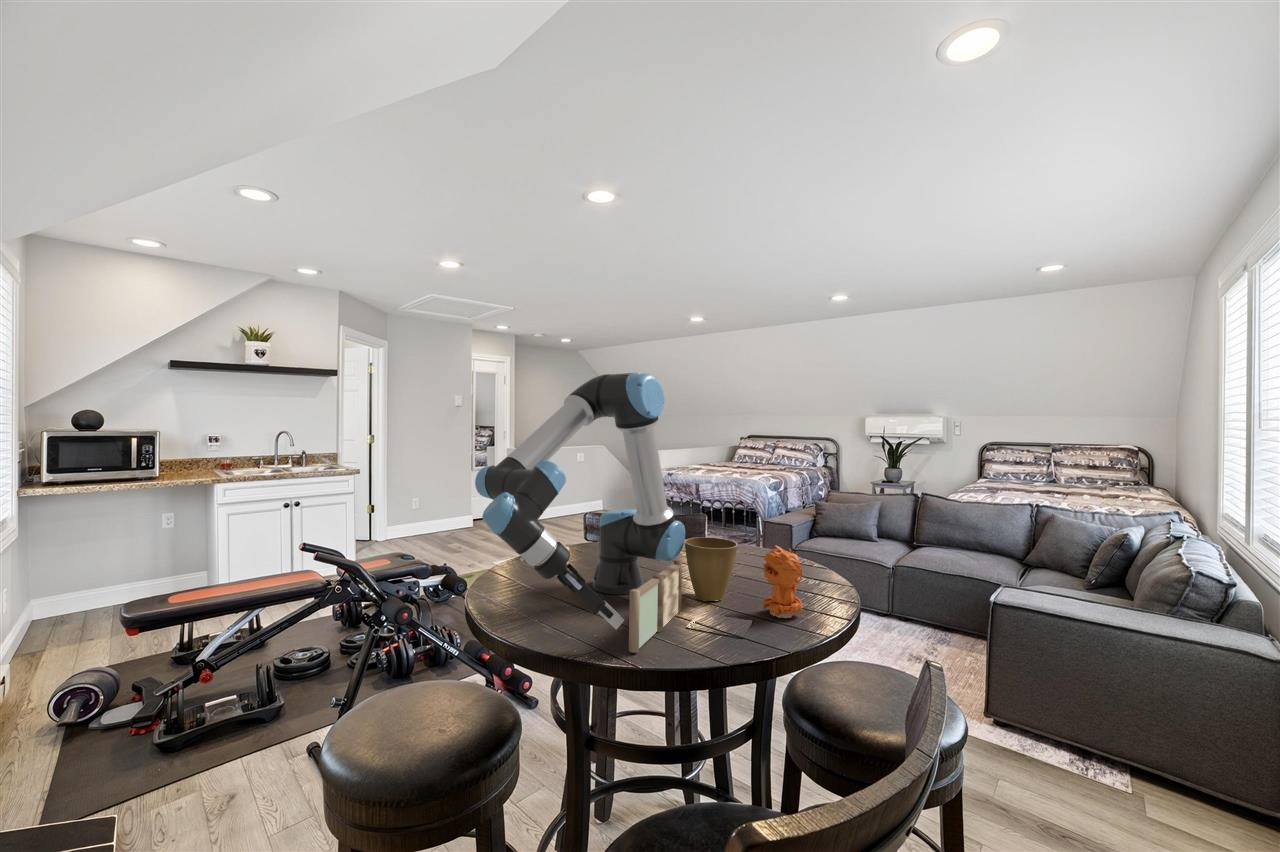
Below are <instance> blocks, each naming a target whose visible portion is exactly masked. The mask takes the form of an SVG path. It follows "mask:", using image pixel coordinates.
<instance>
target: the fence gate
mask: <svg viewBox="0 0 1280 852" xmlns="http://www.w3.org/2000/svg"><path fill="white" fill-rule="evenodd" d="M658 583H659V579H653V577H652V578H651V579H649V580H647V581H646V582H644V583H643V585H642V586H640V587H639V588H637V589H631V590H630V594H629V611H628V612H629V614H628V615H629V616H628V617H629V619H628V621H629V622H628V652H629V653H632V654H633V653H634V654H635V653H639V651H640V649H641V647H642V646H644V645H645V643H647V642H648V641H649V640H650V639H651V638H652V637H653V636H654V635H656V632H657V610H658Z"/></svg>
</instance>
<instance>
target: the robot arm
mask: <svg viewBox="0 0 1280 852" xmlns="http://www.w3.org/2000/svg"><path fill="white" fill-rule="evenodd" d="M664 404H665V393H664V390H663V386H662V385H661V383H660V382H659V380H658V379H657V378H656V377H654V375H652V374H650V373H643V372H642V373H641V372H629V373H628V372H627V373H615V374H614V373H612V374H609V373H608V374H601V375H597V376H595V377H592V378H591V379H589V380H588V381H586V382H584V383H583V384H582V385H580V386H578V387H577V388H576V389H574V391H572V392H570V394H569V395H568V396H566V397H565V398H564V400H563V405H562V406H561V407H560V408H559V409H557V411H556V412H554V413H553V414H552V415H551V416H550V417H549V418H548V419H546V421H545V422H543V423H542V424H541V425H540V426H539V427H538V428H537V429H536V430H534V432H532V433H531V434H530V435H529V436H528V437H527V438H526V439H525V440H524V441H522V443H520V444H519V445H518V446H517V447H516V448H515V449H514V450H513V451H511V452H510V453H509V454H508V455H507V456H505V458H504V459H502V460H501V461H500V462H499V463H498V464H496V465H488V466H484V467H482V468H481V469H480V470H479V471H478V472H477V473H476V476H475V480H474V484H475V485H474V486H475V489H476V491H477V493H478V494H479V495H480V497H481V496H482V497H484V498H487V499H489V500H490V499H491V500H492V501H491V502H490V503H489V504H488V505H487V506H486V507H485V509H484V511H483V513H482V514H481V515H482V516H481V517H482V520H483V522H484V523H485V525H486V526H487V527H488V528H489V529H490V530H491V531H492V532H493V533H494V534H495V535H496V536H498V537H499V538H500V539H501V540H502V541H503V542H504V543H505V544H507V546H509V547H510V548H511V549H512V550H513V551H514V552H515V553H516V554H517V555H519V556H520V558H519V560H520V562H524V561H526V562H527V564H528V565H529V566H530V567H533V569H534V571H535V572H537V573H538V574H539V575H540V576H541V577H542V578H543V579H545V580H550V579H552V578H555V576H556V579H557V580H558V581H559V583H561V584H562V585H563V586H564V587H567V588H568V589H569V590H570V591H572V592H573V593H574V594H575V593H576V594H577V595H578V596H579V597H581V598H582V599H583V600H584V602H586V603H587V605H589V606H590V607H592V609H593V610H592V613H593V614H594V615H596V614H597V613H598V614H599V615H600V616H601V618H603V619H604V620H605V621H606V622H607V623H608V624H609V625H610V626H612V627H613V628H614V629H615V630H618V629H619V627H620V626H621V625H622V624H623V623H624V621H625V619H624V618H623V617H622V616H621V615H620V614H619V613H618V612H617V611H616V610H615V609H614V608H613V607H612V606H611V605H610V604H609V603H608V602H607V601H606V600H604V599H603V598H604V597H605V596H604V594H606V595H607V594H609V595H630V590H631V589H637V588H639V587H640V586H642V585H643V584H644V578H643V576H642V571H641V568H640V564H639V562H638V561H639V560H638V559H639V557H640V558H644V559H650V560H655V561H656V562H666V563H667V562H668V563H669V562H674V560H676V559H677V557H678V556H679V555H680V553H682V552H681V551H682V550H683V546H684V545H685V540H686V528H685V525H684V523H683V522H681V520H677V519H675V518H676V517H675V514H674V510H673V509H672V508H671V507H670V506H668V505H667V504H668V502H667V497H666V492H665V491H666V490H665V485H664V480H663V474H662V468H661V460H660V456H659V449H658V442H657V437H656V431H655V426H656V425H657V423H658V422H659V421H660V420H659V416H660V415H661V414H662V413H663V411H664V408H665V407H664ZM606 417H607V418H613V419H614V422H615V427H616V429H618V430H619V431H621V432H622V435H623V440H624V441H623V442H624V446H625V452H626V458H627V463H628V468H629V474H630V479H631V486H632V491H633V496H634V501H635V507H636V508H625V509H624V508H622V509H614V510H613V509H612V510H608V511H603V512H602V513H601V515H600V517H599V526H598V528H599V529H598V533H599V535H598V536H599V537H598V539H599V540H598V543H599V544H598V547H599V548H598V549H599V551H598V552H599V553H598V554H599V555H598V557H599V558H598V564H597V566H596V569H595V572H594V576H593V578H592V588H593V589H592V588H591V587H590V586H589V585H588V584H587V583H586V580H585V579H584V578H583V577H582V575H581V574H579V572H578V570H577V568H575V567H574V566H573V565H572V564H571V563H568V562H569V560H570V557H571V552H570V550H569V549H568V548H567V547H566V546H564V545H563V544H562V543H561V541H558V539H557V538H556V536H555V535H553V534H552V533H551V531H549V530H548V529H547V528H546V527H545V526H544V525H543V524H542V523H540V521H539V519H540V517H542V515H543V514H544V513H545V511H546V510H547V509H548V507H549V506H550V505H551V503H552V502H553V501H554V500H555V499H556V497H558V495H559V494H560V492H561V490H562V489H563V487H564V486H565V484H566V481H567V477H566V474H565V473H564V470H563V468H561V467H560V466H559V465H558V464H557V463H555V462H553V461H550V459H551V458H552V457H553V456H554V455H555V454H556V453H557V452H558V451H559V450H561V448H563V446H565V444H566V443H567V442H569V441H570V440H571V439H572V438H573V436H575V434H577V432H579V430H580V429H582V428H583V427H586V426H590V425H591V424H592V423H593V422H594V421H595V420H597V419H601V418H606ZM594 590H595V591H594ZM597 592H598V593H599V592H600V595H598V593H597Z"/></svg>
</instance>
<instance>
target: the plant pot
mask: <svg viewBox="0 0 1280 852" xmlns="http://www.w3.org/2000/svg"><path fill="white" fill-rule="evenodd" d="M684 548H685V549H684V550H685V557H686V564H687V569H688V574H689V578H690V581H691V585H692V589H693V592H694V595H695V597H696V599H697V600H699V599H700V600H699V601H701V600H705V601H715V600H720V599H722V600H723V598H724V596H725V594H726V591H727V589H728V586H729V583H730V580H731V576H732V572H733V569H734V566H735V565H734V564H735V560H736V555H737V550H738V543H737V542H736V541H733V540H730V539H728V538H720V537H711V536H709V537H707V536H705V537H704V536H703V537H701V536H700V537H691V538H687V539H685V540H684ZM705 601H704V602H705Z"/></svg>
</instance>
